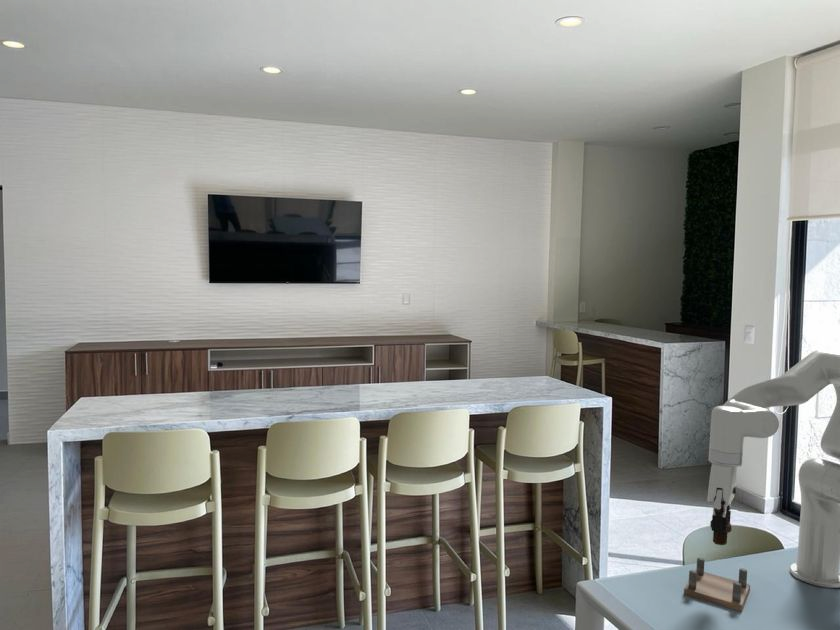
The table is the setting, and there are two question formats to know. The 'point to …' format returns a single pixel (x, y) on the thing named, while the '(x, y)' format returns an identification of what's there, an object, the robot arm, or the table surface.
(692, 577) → the peg holder
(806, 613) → the table surface
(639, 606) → the table surface
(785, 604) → the table surface
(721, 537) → the bolt
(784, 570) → the table surface
